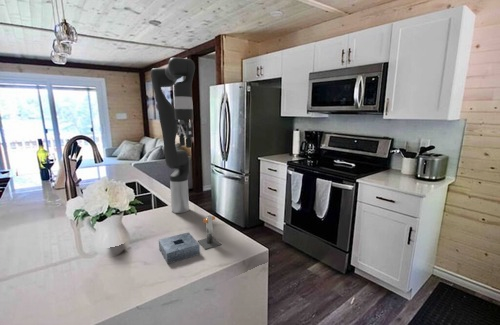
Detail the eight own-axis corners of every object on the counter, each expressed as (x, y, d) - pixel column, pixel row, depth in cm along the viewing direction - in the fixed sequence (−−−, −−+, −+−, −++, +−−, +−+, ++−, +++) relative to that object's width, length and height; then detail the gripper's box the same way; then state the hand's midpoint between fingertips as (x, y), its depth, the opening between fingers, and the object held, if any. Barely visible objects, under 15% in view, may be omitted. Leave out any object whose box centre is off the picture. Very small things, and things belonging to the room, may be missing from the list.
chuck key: (212, 239, 109) (212, 214, 107) (216, 240, 107) (215, 215, 105) (203, 243, 105) (202, 217, 103) (206, 245, 104) (205, 219, 102)
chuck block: (159, 249, 102) (158, 239, 101) (189, 241, 108) (188, 232, 107) (167, 263, 92) (166, 253, 91) (199, 254, 98) (199, 244, 97)
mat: (197, 241, 108) (197, 240, 108) (213, 237, 111) (213, 236, 111) (205, 249, 101) (205, 248, 101) (221, 244, 105) (221, 244, 105)
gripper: (198, 107, 105) (199, 147, 108) (186, 108, 117) (188, 144, 120) (180, 107, 101) (182, 149, 104) (170, 108, 113) (172, 145, 116)
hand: (185, 146), depth 112 cm, fingers open, 8 cm apart
